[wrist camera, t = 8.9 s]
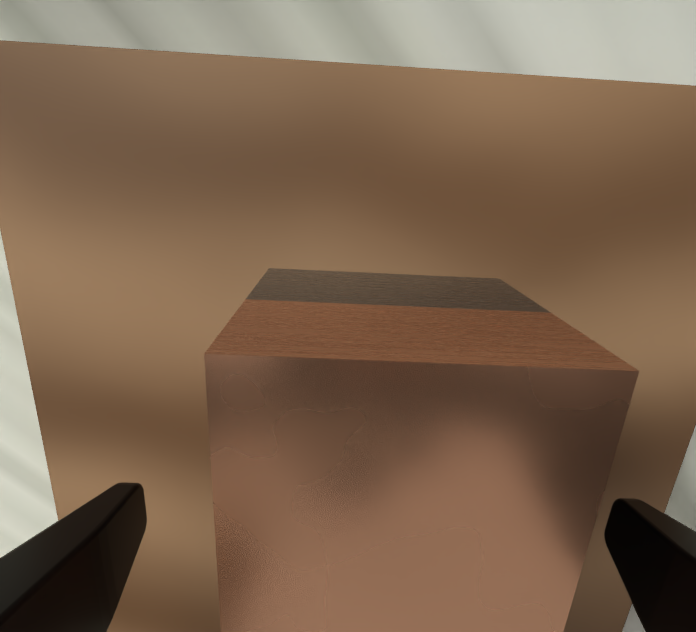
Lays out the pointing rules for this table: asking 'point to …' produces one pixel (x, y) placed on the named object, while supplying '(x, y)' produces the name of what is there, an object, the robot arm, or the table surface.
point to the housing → (405, 454)
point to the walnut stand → (322, 254)
